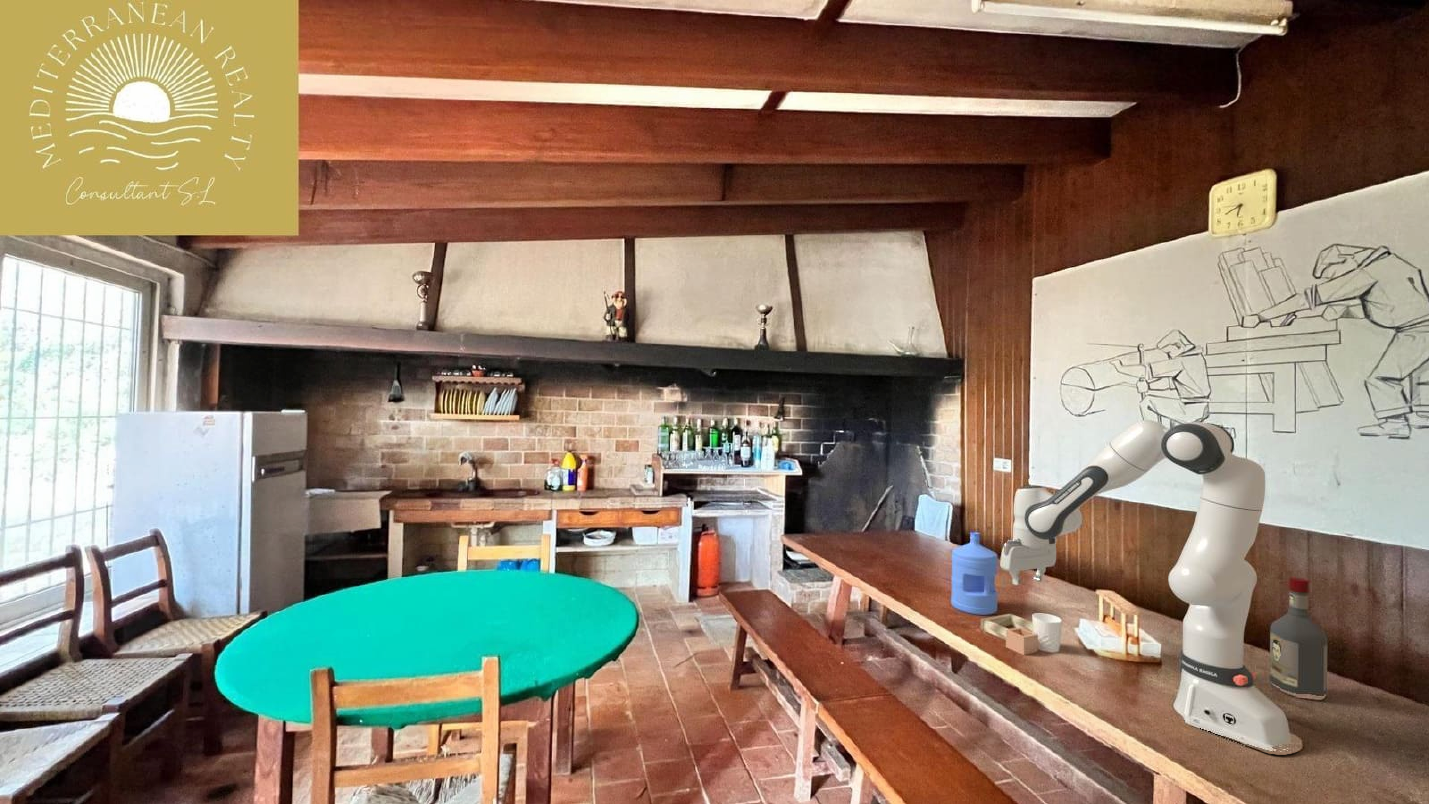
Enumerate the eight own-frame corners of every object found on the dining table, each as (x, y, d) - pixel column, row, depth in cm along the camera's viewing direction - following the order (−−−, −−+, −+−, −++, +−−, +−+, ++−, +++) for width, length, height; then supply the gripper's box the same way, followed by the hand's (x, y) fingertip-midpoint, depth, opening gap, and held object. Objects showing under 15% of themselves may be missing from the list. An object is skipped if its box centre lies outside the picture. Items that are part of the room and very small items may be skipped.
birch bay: (1044, 639, 181) (1045, 627, 181) (1014, 646, 175) (1014, 633, 175) (1009, 625, 192) (1010, 613, 192) (980, 631, 187) (980, 619, 187)
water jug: (941, 602, 214) (942, 529, 214) (975, 599, 218) (976, 527, 218) (972, 617, 199) (973, 538, 199) (1007, 613, 203) (1008, 536, 204)
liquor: (1306, 686, 152) (1307, 576, 153) (1332, 703, 144) (1333, 586, 144) (1264, 681, 155) (1266, 572, 155) (1288, 697, 146) (1289, 582, 146)
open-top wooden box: (1037, 654, 170) (1037, 634, 170) (1023, 657, 167) (1023, 637, 167) (1019, 646, 175) (1019, 627, 175) (1005, 649, 173) (1005, 629, 173)
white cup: (1053, 645, 176) (1053, 613, 176) (1066, 656, 169) (1067, 623, 169) (1027, 644, 177) (1027, 612, 177) (1039, 655, 169) (1039, 621, 169)
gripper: (1013, 543, 165) (1012, 589, 165) (1060, 538, 173) (1059, 582, 173) (995, 538, 171) (994, 583, 171) (1042, 533, 179) (1040, 576, 179)
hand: (1027, 582), depth 172 cm, fingers open, 8 cm apart
